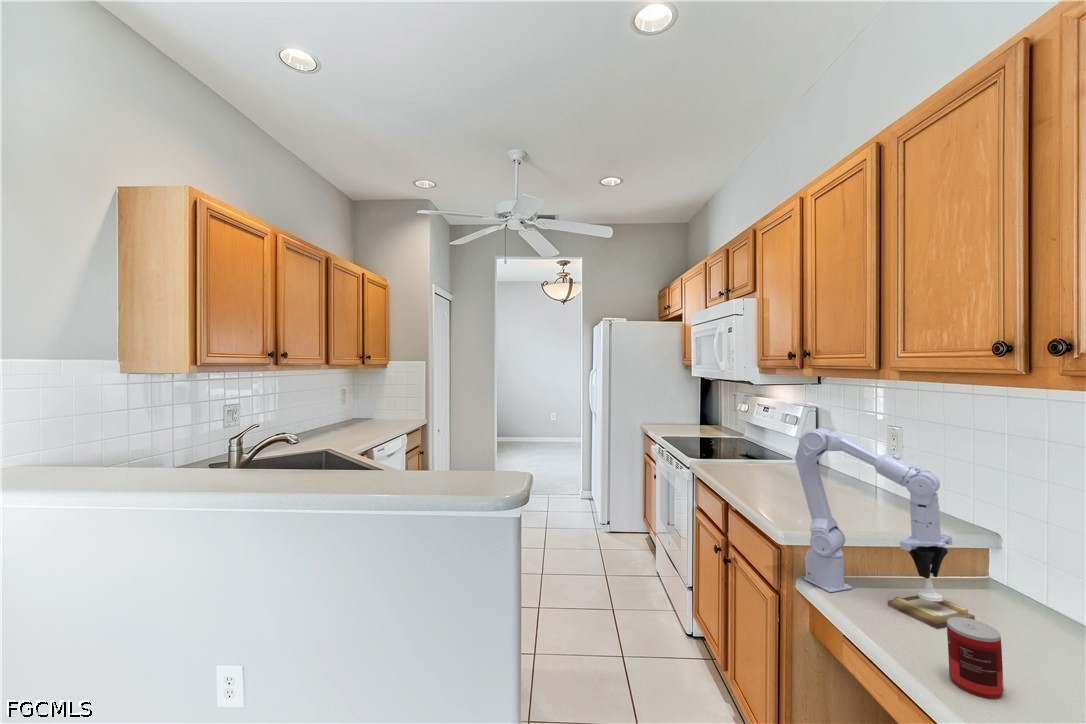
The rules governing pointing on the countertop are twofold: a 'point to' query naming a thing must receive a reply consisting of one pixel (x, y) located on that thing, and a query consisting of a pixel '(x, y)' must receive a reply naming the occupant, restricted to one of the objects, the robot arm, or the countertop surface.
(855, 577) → the countertop surface
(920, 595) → the chess piece
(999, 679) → the canned food
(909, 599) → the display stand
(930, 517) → the robot arm
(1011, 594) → the countertop surface
